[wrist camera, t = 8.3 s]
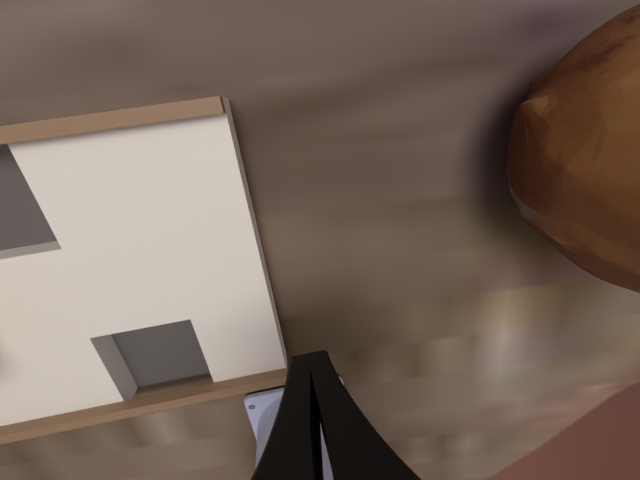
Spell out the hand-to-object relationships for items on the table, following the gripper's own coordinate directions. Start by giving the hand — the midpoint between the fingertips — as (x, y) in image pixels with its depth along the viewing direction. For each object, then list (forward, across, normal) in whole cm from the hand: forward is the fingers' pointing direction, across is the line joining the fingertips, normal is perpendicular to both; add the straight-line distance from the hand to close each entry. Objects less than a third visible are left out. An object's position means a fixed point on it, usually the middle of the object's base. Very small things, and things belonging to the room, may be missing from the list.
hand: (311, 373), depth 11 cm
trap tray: (+10, +13, -1) cm, 16 cm away
